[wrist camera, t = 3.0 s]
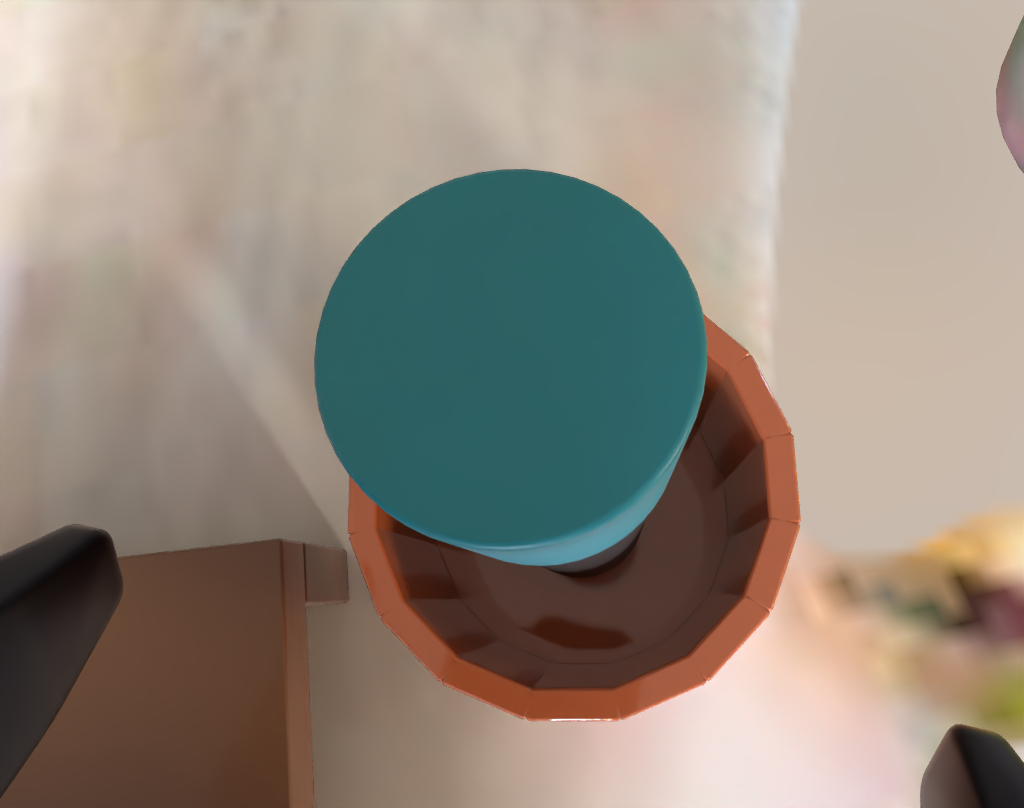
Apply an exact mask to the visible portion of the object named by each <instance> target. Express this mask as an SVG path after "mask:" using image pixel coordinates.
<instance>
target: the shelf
mask: <svg viewBox="0 0 1024 808" xmlns="http://www.w3.org/2000/svg"><path fill="white" fill-rule="evenodd" d="M117 559H118V562H119V566H120V570H121V574H122V577H123V593H122V597H121V600H120V602H119V604H118V606H117V608H116V610H115V612H114V614H113V615H112V617H111V619H110V621H109V623H108V624H107V626H106V628H105V630H104V632H103V633H102V635H101V637H100V639H99V641H98V642H97V644H96V646H95V648H94V650H93V651H92V653H91V655H90V657H89V659H88V660H87V662H86V664H85V666H84V668H83V670H82V671H81V673H80V675H79V677H78V679H77V680H76V682H75V684H74V686H73V688H72V689H71V691H70V693H69V695H68V697H67V698H66V700H65V702H64V704H63V705H62V707H61V709H60V710H59V712H58V714H57V716H56V717H55V719H54V721H53V722H52V724H51V725H50V727H49V728H48V730H47V731H46V733H45V734H44V736H43V738H42V739H41V741H40V742H39V744H38V745H37V746H36V748H35V749H34V751H33V752H32V754H31V755H30V757H29V758H28V760H27V761H26V762H25V764H24V765H23V767H22V768H21V770H20V771H19V773H18V774H17V775H16V777H15V778H14V780H13V781H12V783H11V784H10V786H9V787H8V789H7V790H6V791H5V793H4V794H3V796H2V797H1V799H0V808H314V787H313V764H312V741H311V718H310V695H309V672H308V649H307V626H306V607H309V606H318V605H328V604H337V603H346V602H348V601H349V593H348V574H347V556H346V550H343V549H337V548H331V547H325V546H320V545H314V544H308V543H301V542H296V541H290V540H284V539H271V540H263V541H254V542H245V543H237V544H228V545H219V546H210V547H202V548H193V549H184V550H176V551H167V552H158V553H149V554H141V555H132V556H123V557H117Z"/></svg>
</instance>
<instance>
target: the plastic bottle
mask: <svg viewBox="0 0 1024 808" xmlns="http://www.w3.org/2000/svg"><path fill="white" fill-rule="evenodd" d="M996 95H997V116H998V119H999V123H1000V127H1001V131H1002V134H1003V138H1004V140H1005V141H1006V143H1007V145H1008V147H1009V149H1010V151H1011V153H1012V155H1013V157H1014V159H1015V160H1016V162H1017V164H1018V166H1019V168H1020V169H1021V170H1022V171H1023V173H1024V16H1023V18H1022V21H1021V23H1020V25H1019V27H1018V29H1017V32H1016V34H1015V36H1014V38H1013V41H1012V43H1011V45H1010V48H1009V50H1008V52H1007V55H1006V57H1005V59H1004V62H1003V64H1002V67H1001V71H1000V75H999V80H998V84H997V89H996Z"/></svg>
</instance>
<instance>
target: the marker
mask: <svg viewBox="0 0 1024 808" xmlns="http://www.w3.org/2000/svg"><path fill="white" fill-rule="evenodd" d="M314 367H315V388H316V394H317V400H318V407H319V411H320V414H321V417H322V421H323V424H324V427H325V431H326V433H327V436H328V438H329V440H330V442H331V444H332V446H333V449H334V451H335V453H336V455H337V457H338V458H339V460H340V461H341V463H342V464H343V466H344V468H345V469H346V471H347V472H348V474H349V475H350V477H351V478H352V479H353V480H354V481H355V483H356V484H357V485H358V486H359V487H360V488H361V490H362V491H363V492H364V493H365V494H366V495H367V496H368V497H369V498H370V499H371V500H372V501H373V502H375V503H376V504H377V505H378V506H379V507H380V508H381V509H382V510H384V511H385V512H386V513H388V514H389V515H391V516H392V517H394V518H395V519H397V520H398V521H400V522H401V523H403V524H404V525H405V526H407V527H409V528H411V529H413V530H415V531H417V532H420V533H422V534H424V535H426V536H428V537H430V538H433V539H436V540H439V541H442V542H445V543H448V544H451V545H454V546H457V547H461V548H464V549H467V550H470V551H473V552H476V553H480V554H483V555H486V556H489V557H492V558H495V559H498V560H502V561H505V562H510V563H515V564H521V565H533V566H540V567H543V568H545V569H548V570H550V571H553V572H555V573H558V574H561V575H564V576H569V577H579V578H583V577H592V576H596V575H600V574H602V573H605V572H607V571H609V570H611V569H613V568H614V567H616V566H617V565H619V564H620V563H621V562H622V561H623V560H624V559H625V558H626V557H627V556H628V555H629V554H630V553H631V551H632V550H633V548H634V546H635V545H636V543H637V541H638V538H639V536H640V533H641V530H642V528H643V525H644V522H645V519H646V517H647V515H648V514H649V513H650V512H651V511H652V509H653V508H654V507H655V505H656V504H657V502H658V500H659V499H660V497H661V496H662V494H663V492H664V491H665V488H666V486H667V484H668V482H669V479H670V477H671V475H672V473H673V470H674V468H675V466H676V463H677V461H678V459H679V457H680V454H681V452H682V450H683V448H684V445H685V443H686V441H687V438H688V436H689V434H690V432H691V429H692V427H693V425H694V422H695V420H696V418H697V414H698V411H699V407H700V404H701V400H702V397H703V393H704V386H705V379H706V372H707V336H706V329H705V322H704V315H703V312H702V308H701V305H700V301H699V298H698V294H697V291H696V289H695V287H694V284H693V282H692V280H691V278H690V275H689V273H688V271H687V269H686V267H685V265H684V264H683V262H682V261H681V259H680V257H679V256H678V254H677V252H676V251H675V249H674V248H673V247H672V245H671V244H670V243H669V242H668V240H667V239H666V238H665V237H664V236H663V234H662V233H661V232H660V231H659V230H658V229H657V228H656V227H655V226H654V225H653V224H652V223H651V222H650V221H649V220H648V219H647V218H646V217H645V216H643V215H642V214H641V213H640V212H639V211H637V210H636V209H635V208H633V207H632V206H630V205H629V204H628V203H626V202H625V201H623V200H622V199H621V198H619V197H617V196H615V195H613V194H611V193H609V192H607V191H606V190H604V189H602V188H600V187H598V186H596V185H593V184H590V183H588V182H585V181H582V180H580V179H577V178H574V177H570V176H566V175H561V174H557V173H553V172H546V171H537V170H528V169H515V170H496V171H488V172H481V173H476V174H472V175H468V176H464V177H460V178H456V179H453V180H451V181H448V182H445V183H443V184H440V185H438V186H435V187H433V188H431V189H429V190H427V191H425V192H423V193H421V194H419V195H417V196H415V197H414V198H412V199H410V200H409V201H407V202H406V203H404V204H403V205H401V206H400V207H398V208H397V209H396V210H394V211H393V212H391V213H390V214H389V215H388V216H387V217H385V218H384V219H383V220H382V221H381V222H380V223H379V224H377V225H376V226H375V227H374V228H373V229H372V230H371V231H370V232H369V233H368V234H367V236H366V237H365V238H364V239H363V240H362V241H361V242H360V243H359V245H358V246H357V247H356V248H355V250H354V251H353V253H352V254H351V255H350V257H349V258H348V260H347V261H346V263H345V264H344V266H343V267H342V269H341V271H340V273H339V275H338V276H337V278H336V280H335V282H334V284H333V286H332V288H331V290H330V293H329V296H328V298H327V301H326V304H325V306H324V309H323V312H322V316H321V321H320V325H319V329H318V333H317V339H316V349H315V359H314Z"/></svg>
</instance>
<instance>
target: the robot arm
mask: <svg viewBox="0 0 1024 808" xmlns="http://www.w3.org/2000/svg"><path fill="white" fill-rule="evenodd" d="M122 593H123V577H122V574H121V570H120V566H119V562H118V559H117V555H116V551H115V547H114V544H113V540H112V538H111V536H110V535H109V534H108V533H107V532H106V531H104V530H102V529H97V528H93V527H89V526H84V525H79V524H72V525H68V526H65V527H62V528H60V529H58V530H56V531H54V532H52V533H49V534H47V535H45V536H43V537H41V538H39V539H36V540H34V541H32V542H30V543H28V544H26V545H24V546H21V547H19V548H17V549H15V550H13V551H11V552H8V553H6V554H4V555H2V556H0V799H1V797H2V796H3V794H4V793H5V791H6V790H7V789H8V787H9V786H10V784H11V783H12V781H13V780H14V778H15V777H16V775H17V774H18V773H19V771H20V770H21V768H22V767H23V765H24V764H25V762H26V761H27V760H28V758H29V757H30V755H31V754H32V752H33V751H34V749H35V748H36V746H37V745H38V744H39V742H40V741H41V739H42V738H43V736H44V734H45V733H46V731H47V730H48V728H49V727H50V725H51V724H52V722H53V721H54V719H55V717H56V716H57V714H58V712H59V710H60V709H61V707H62V705H63V704H64V702H65V700H66V698H67V697H68V695H69V693H70V691H71V689H72V688H73V686H74V684H75V682H76V680H77V679H78V677H79V675H80V673H81V671H82V670H83V668H84V666H85V664H86V662H87V660H88V659H89V657H90V655H91V653H92V651H93V650H94V648H95V646H96V644H97V642H98V641H99V639H100V637H101V635H102V633H103V632H104V630H105V628H106V626H107V624H108V623H109V621H110V619H111V617H112V615H113V614H114V612H115V610H116V608H117V606H118V604H119V602H120V600H121V597H122ZM920 807H921V808H1024V762H1023V761H1022V760H1021V759H1020V757H1019V756H1018V755H1017V753H1016V752H1015V751H1014V750H1013V748H1012V747H1011V746H1010V744H1009V743H1008V742H1007V741H1006V740H1005V739H1004V738H1003V737H1002V736H1000V735H999V734H997V733H995V732H992V731H988V730H984V729H979V728H975V727H970V726H966V725H962V724H956V725H954V726H952V727H951V728H949V730H948V731H947V732H946V734H945V736H944V738H943V739H942V741H941V743H940V745H939V747H938V748H937V750H936V752H935V754H934V756H933V757H932V759H931V761H930V763H929V765H928V766H927V768H926V770H925V772H924V775H923V778H922V783H921V790H920Z"/></svg>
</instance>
